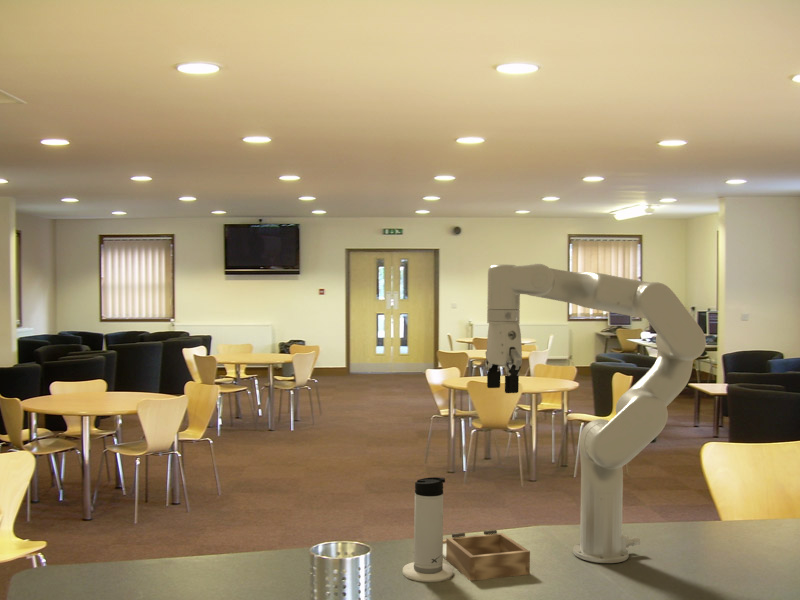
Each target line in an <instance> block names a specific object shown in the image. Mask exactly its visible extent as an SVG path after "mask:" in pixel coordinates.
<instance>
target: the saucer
mask: <svg viewBox="0 0 800 600" xmlns="http://www.w3.org/2000/svg"><path fill="white" fill-rule="evenodd" d="M442 563H443V568H442V570H441V571H440V572H438V573H434V574H424V573H419V572H417V571H416V570H415V569H414V561H413V562H409V563H407V564H405V565H404V566H403V567H402V574H403V576H404V577H405V578H407V579H409V580H412V581H414V582H415V581H416V582H423V583H436V582H443V581H447V580H449V579H451V578H452V577H453V576H454V568H453V567H452V565H449V564H446V563H444V562H442Z"/></svg>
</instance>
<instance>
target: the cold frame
mask: <svg viewBox="0 0 800 600" xmlns="http://www.w3.org/2000/svg"><path fill="white" fill-rule="evenodd" d="M443 559H444V560H446V562H448V563H449V564H450V563H451V564H450V565H451V566H453V567H454V568H455V569H456V570H458V572H460V574H462V575H463V576H464V577H465V578H466V579H468V580H469V581H471V582H472V581H473V582H474V581H481V580H488V579H489V580H491V579H500V578H508V577H517V576H525V575H526V576H528V575H530V572H531V569H530V568H531V564H530V563H531V551H530V550H528V549H527V548H526V547H524V546H523V545H521V544H520V543H518V542H517V541H515V540H514V539H512V538H511V537H509V536H508V535H506V534H504V532H499V533H498V531H497V529H492V530H483V534H477V535H476V534H475V535H466V532H457V533H455V532H454V533H451V537H446V539H444V538H443Z"/></svg>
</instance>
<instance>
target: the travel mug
mask: <svg viewBox="0 0 800 600" xmlns="http://www.w3.org/2000/svg"><path fill="white" fill-rule="evenodd" d="M444 483H446V478H445V477H437V476H436V477H435V476H433V477H431V476H430V477H424V478H420V479H416V481H415V482H414V510H413V511H414V512H413V513H414V514H413V515H414V517H413V518H414V519H413V521H414V523H413V524H414V525H413V527H414V529H413V530H414V532H413V537H414V538H413V562H414V569H415V570H416V571H417V572H419V573H424V574H434V573H438V572H440V571H441V570H442V568H443V563H444V562H443V561H444V560H443V559H444V557H443V540H444Z"/></svg>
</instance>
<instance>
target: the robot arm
mask: <svg viewBox="0 0 800 600" xmlns="http://www.w3.org/2000/svg"><path fill="white" fill-rule="evenodd" d="M521 295H526V296H530V297H536V298H541V299H547V300H554V301H558V302H564V303H569V304H573V305H576V306H579V307H582V308H586V309H591V310H595V311H596V310H597V311H602V312H608V313H614V314H617V315H623V316H627V317H628V316H629V317H633V318H634V317H635V318H640V319H644V320H645V319H646V320H647V321H648V323H649V324H650V326H651V328H652V329H653V330H654V331H655V332H656V336H655V344H656V348H657V349H656V350H657V355H656V360H655V362H654V364H653V365H652V366H651V368H649V370H647V371H646V373H645V374H644V375H643V376H642V377H641V378H640V379H639V380H638V381H637V382H636V383H634V384H633V385H632V386H631V387H630V388H629V389H627V390H626V391H625V392H624V393H623V394H622V395H620V397H619V399H618V400H617V402H616V405H615V414H616V415H615V416H614V417H612V419H610V420H607V419H605V418H604V419H602V418H599V419H598V418H597V419H594V420H593V419H592V420H591V421H589V422H588V423H586V425H585V426H584V427H583V429H582V430H581V433H580V437H579V455H580V457H579V459H580V523H579V524H580V528H579V529H580V530H579V533H580V534H579V536H580V537H579V543H578V544H575V545H574V546H573V547H572V548H573V550H572V552H573V555H574V556H575V557H577V558H578V559H581V560H585V561H587V562H591V563H598V564H599V563H600V564H617V563H621V562H625V561H626V560H628V559H629V554H630V553H629V551H628V550H627V549H628V548H629V546H632V547H635V546H637V547H638V546H640V544H641V539H640V537H639V536H633V537H632V536H631V537H629V535H623V494H624V493H623V491H624V472H623V467H624V466H625V465H626V464H628V463H630V462H631V461H632V460H633V459H634V458H635V457H636V456H638V455H639V454H640V453H641V452H642V451H643V450H644V449H645V448H646V447H647V446H648V445H649V444H650V443H652V441H653V440H655V439H656V438H657V437H658V436H659V435H660V434H661V432H662V431H663V429H664V428H665V426H666V424H667V422H668V419H669V413H668V408H667V406H669V405H670V404H671V403H672V402H673V401H674V399H676V398H677V397H678V396H679V394H680V393H681V392H682V391H683V390H684V389H685V387H686V386H687V384H688V383H689V381H690V378H691V376H692V371H693V365H694V364H693V363H694V360H696V359H697V358H699V357H701V356H702V354H703V353H704V351H705V350H706V345H707V340H706V335H705V333H704V331H703V329H702V327H701V326H700V325H699V324H698V322H697V321H696V320H695V319H694V317H693V316H692V315H691V313H690V312H689V310H687V308H686V306H685V305H684V304H683V303H682V301H681V300H680V299H679V297H678V296H677V295H676V294H675V292H674V291H673V290H672V289H671V288H670V287H669V286H667V285H666V284H664V283H662V282H653V281H652V282H649V281H643V280H639V279H638V280H637V279H633V278H627V277H621V276H616V275H612V274H605V273H600V272H577V271H570V270H569V271H568V270H562V269H557V268H551V267H549V266H548V265H545V264H543V263H532V264H525V265H523V264H522V265H515V264H492V265H490V266H489V267H488V270H487V301H486V302H487V307H486V310H487V313H486V319H487V321H486V323H487V324H488V329H487V340H486V342H487V343H486V351H485V359H486V360H485V363H486V371H487V373H486V374H487V375H486V376H487V377H486V379H487V381H486V387H487V388H488V389H499V388H501V370H500V368H501V367H504V371H505V375H504V393H505V394H518V393H519V386H520V384H519V383H520V382H519V378H520V371H521V368H522V366H521V365H522V363H523V356H522V355H523V352H522V351H523V349H522V348H523V347H522V334H521V333H522V331H521V326H520V322H521V321H520V317H521V316H520V311H521V310H520V309H521V307H520V306H521V298H520V297H521Z"/></svg>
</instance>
